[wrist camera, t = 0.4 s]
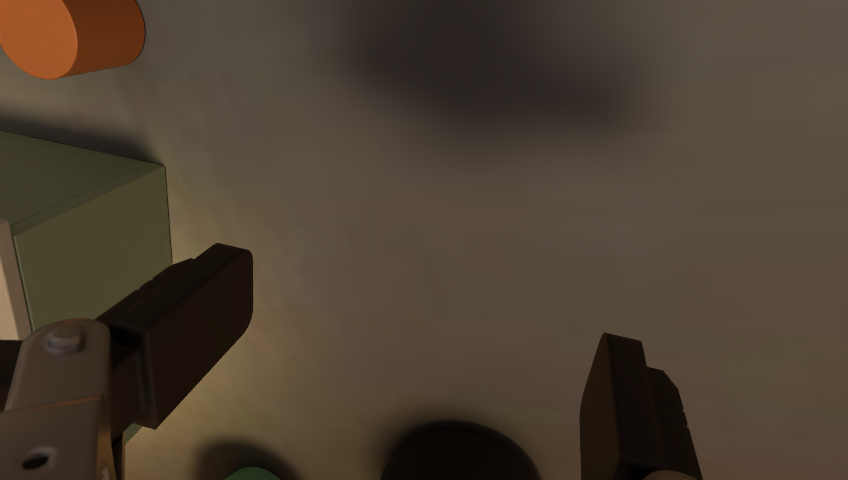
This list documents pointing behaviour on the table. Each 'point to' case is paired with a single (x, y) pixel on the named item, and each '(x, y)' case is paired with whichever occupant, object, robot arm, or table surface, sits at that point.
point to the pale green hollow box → (81, 227)
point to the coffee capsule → (70, 35)
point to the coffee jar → (454, 458)
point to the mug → (252, 474)
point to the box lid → (11, 291)
